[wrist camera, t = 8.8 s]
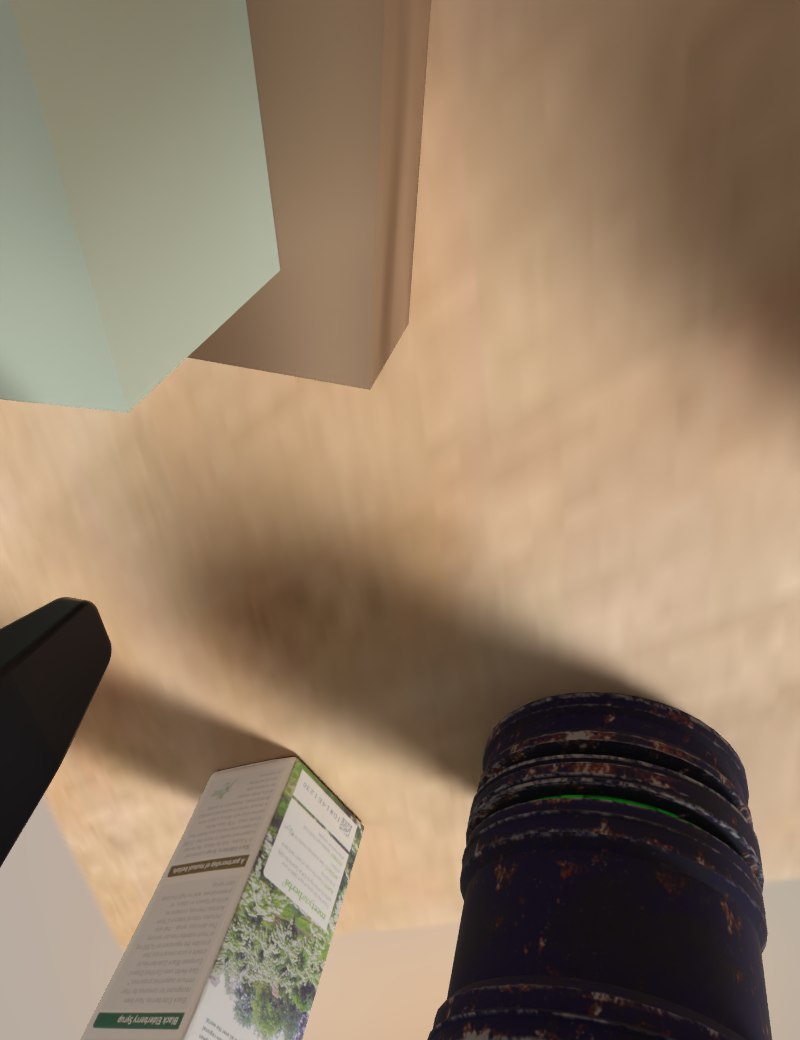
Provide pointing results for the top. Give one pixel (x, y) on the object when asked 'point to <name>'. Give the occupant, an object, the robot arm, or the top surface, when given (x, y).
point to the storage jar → (608, 882)
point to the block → (334, 186)
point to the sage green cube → (125, 192)
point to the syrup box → (238, 914)
